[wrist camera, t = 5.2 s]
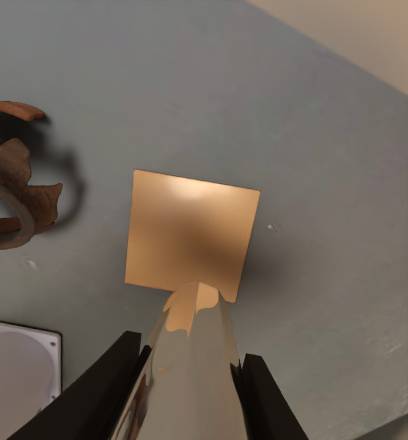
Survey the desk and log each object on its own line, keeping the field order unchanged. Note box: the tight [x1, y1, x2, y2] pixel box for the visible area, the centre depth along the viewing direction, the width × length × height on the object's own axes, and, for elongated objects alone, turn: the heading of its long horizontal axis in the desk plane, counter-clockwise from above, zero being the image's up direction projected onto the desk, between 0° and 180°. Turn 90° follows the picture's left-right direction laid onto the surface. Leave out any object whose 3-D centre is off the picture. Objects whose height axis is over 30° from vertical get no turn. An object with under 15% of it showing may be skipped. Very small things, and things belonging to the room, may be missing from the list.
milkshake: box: [96, 281, 257, 440], centre depth 6 cm, size 5×5×10 cm
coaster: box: [125, 169, 261, 303], centre depth 17 cm, size 10×10×1 cm
